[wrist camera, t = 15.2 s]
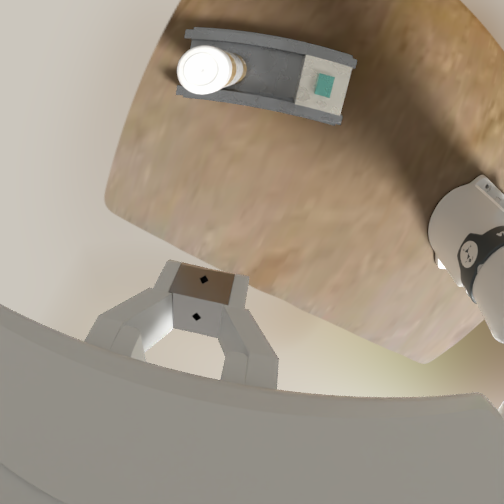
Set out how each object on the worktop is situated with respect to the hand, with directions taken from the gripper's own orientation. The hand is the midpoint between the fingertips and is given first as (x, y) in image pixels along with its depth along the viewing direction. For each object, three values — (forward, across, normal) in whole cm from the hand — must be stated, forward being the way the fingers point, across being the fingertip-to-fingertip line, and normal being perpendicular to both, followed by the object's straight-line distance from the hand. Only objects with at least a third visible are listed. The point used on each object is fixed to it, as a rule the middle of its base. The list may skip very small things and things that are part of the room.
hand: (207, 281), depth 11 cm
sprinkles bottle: (+30, +5, -6) cm, 31 cm away
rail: (+31, +1, -7) cm, 32 cm away
